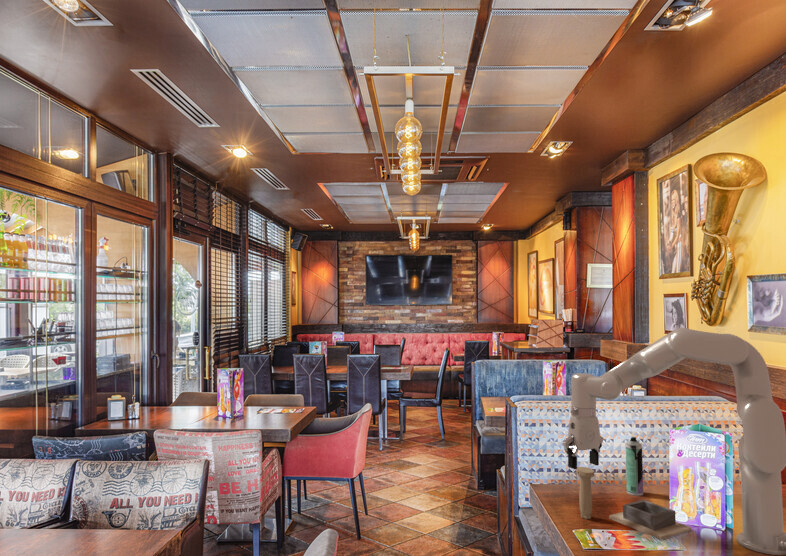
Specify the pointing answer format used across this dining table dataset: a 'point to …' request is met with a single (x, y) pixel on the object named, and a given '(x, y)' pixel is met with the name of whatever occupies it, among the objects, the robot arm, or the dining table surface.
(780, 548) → the robot arm
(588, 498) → the handle
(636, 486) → the spray can
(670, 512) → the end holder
